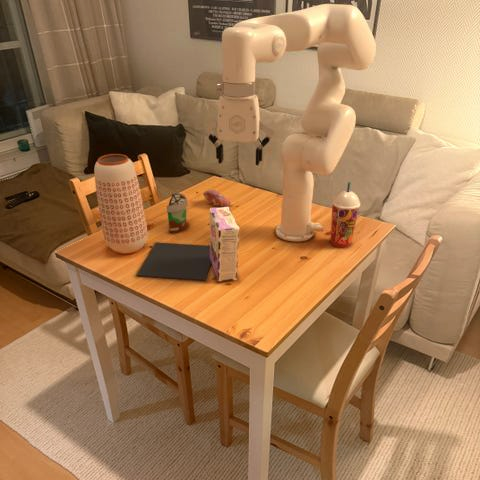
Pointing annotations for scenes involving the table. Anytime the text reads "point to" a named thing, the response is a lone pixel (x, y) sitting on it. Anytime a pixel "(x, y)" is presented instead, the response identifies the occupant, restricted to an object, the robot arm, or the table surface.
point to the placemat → (177, 262)
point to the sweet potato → (216, 198)
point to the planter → (120, 204)
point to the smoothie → (344, 217)
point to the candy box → (224, 243)
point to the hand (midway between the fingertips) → (239, 162)
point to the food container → (177, 212)
